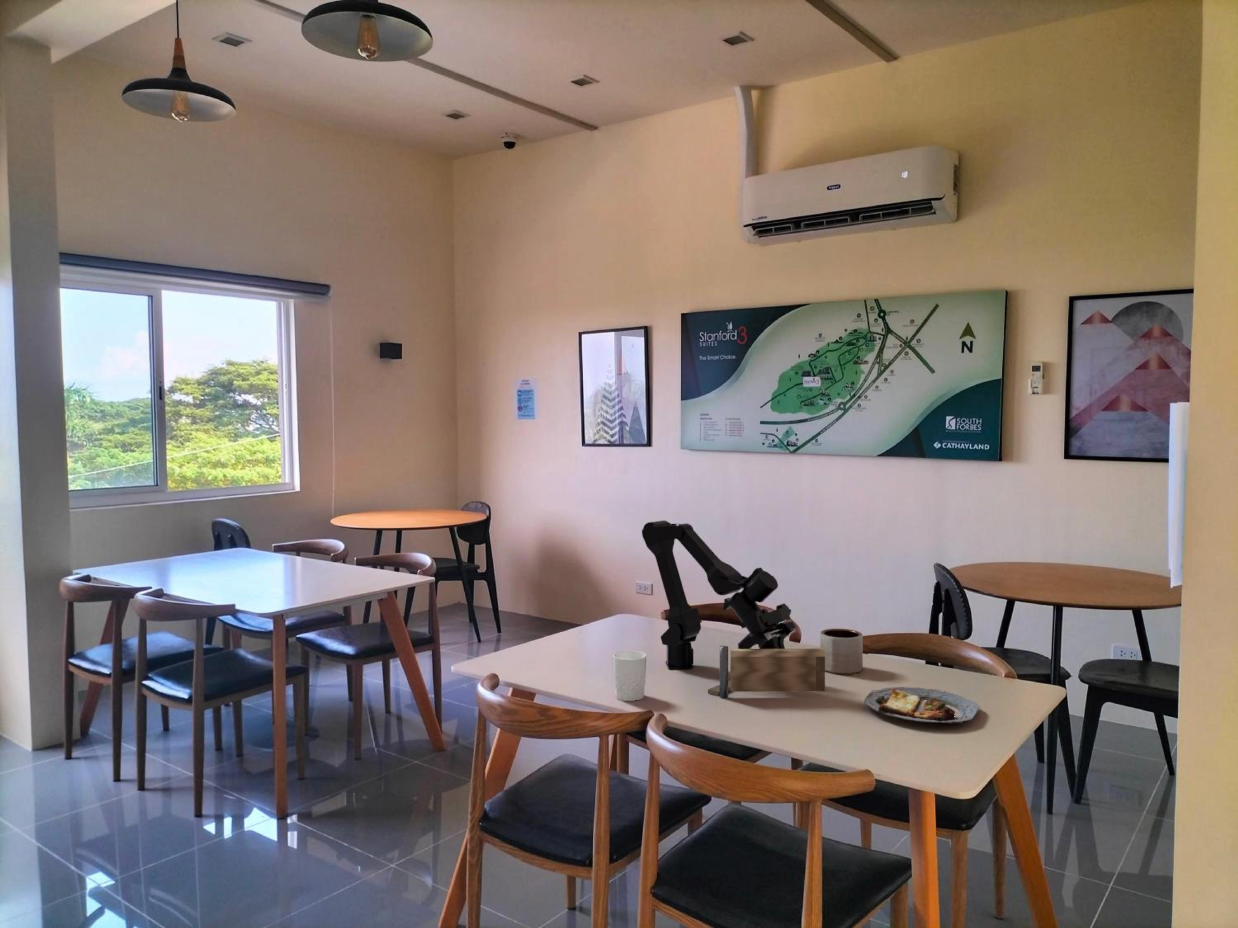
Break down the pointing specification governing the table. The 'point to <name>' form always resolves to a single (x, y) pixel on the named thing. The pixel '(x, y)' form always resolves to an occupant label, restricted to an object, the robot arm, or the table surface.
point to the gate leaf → (777, 670)
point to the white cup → (629, 675)
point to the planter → (842, 650)
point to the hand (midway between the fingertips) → (788, 666)
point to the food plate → (908, 706)
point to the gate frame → (722, 676)
